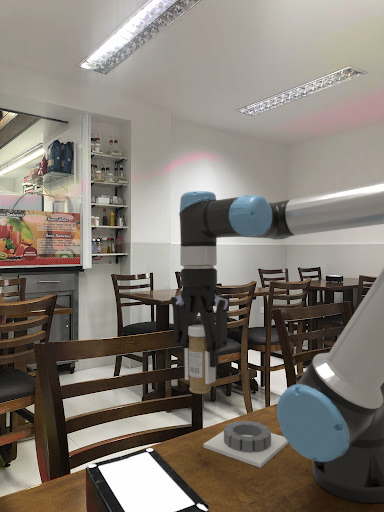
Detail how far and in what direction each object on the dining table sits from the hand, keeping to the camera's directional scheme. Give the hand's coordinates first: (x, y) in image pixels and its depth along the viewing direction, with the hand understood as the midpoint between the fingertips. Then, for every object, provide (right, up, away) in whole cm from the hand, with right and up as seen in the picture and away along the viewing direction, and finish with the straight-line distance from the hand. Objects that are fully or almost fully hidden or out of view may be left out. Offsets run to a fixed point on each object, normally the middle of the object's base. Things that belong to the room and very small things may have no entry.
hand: (200, 380), depth 85 cm
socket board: (+11, -16, +6) cm, 20 cm away
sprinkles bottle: (0, -2, 0) cm, 2 cm away
